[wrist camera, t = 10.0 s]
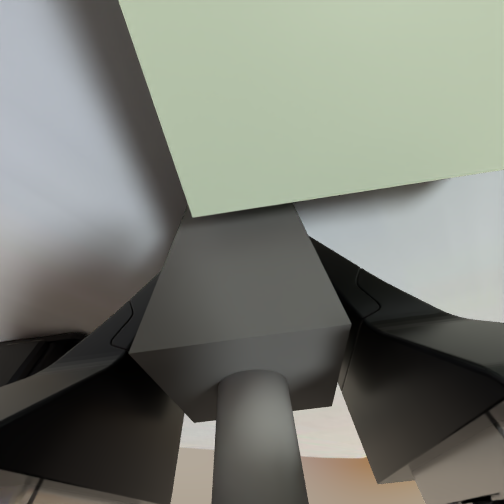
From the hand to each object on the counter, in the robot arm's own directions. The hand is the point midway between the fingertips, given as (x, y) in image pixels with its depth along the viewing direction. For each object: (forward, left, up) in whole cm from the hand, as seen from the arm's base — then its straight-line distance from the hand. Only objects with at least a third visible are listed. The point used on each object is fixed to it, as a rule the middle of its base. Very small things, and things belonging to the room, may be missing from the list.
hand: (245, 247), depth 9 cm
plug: (0, 0, -2) cm, 2 cm away
